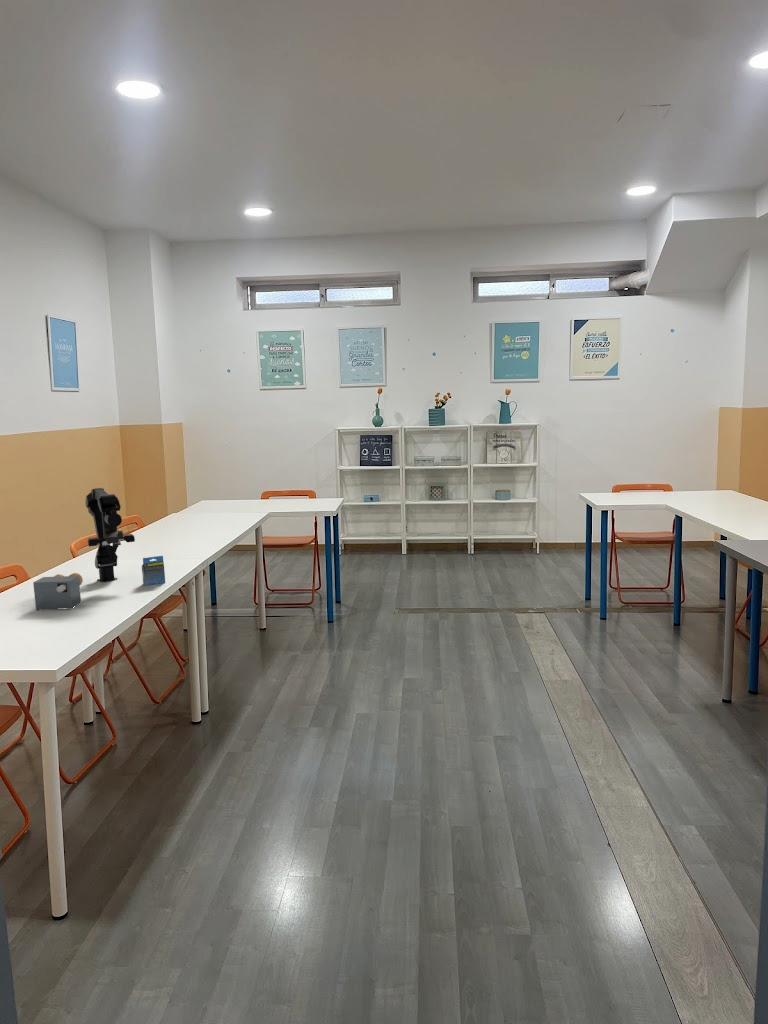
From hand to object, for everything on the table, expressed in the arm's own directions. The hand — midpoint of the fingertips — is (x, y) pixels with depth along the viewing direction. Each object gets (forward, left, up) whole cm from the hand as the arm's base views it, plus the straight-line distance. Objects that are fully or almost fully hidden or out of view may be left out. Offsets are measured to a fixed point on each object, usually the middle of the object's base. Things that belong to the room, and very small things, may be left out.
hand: (112, 559), depth 322 cm
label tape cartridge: (-11, -12, -12) cm, 20 cm away
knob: (-10, +28, -6) cm, 31 cm away
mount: (-6, +30, -12) cm, 32 cm away
